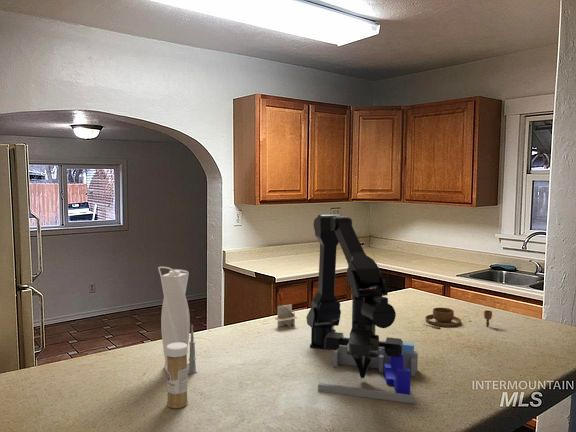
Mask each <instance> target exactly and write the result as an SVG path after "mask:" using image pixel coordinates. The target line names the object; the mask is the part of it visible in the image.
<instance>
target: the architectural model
mask: <svg viewBox="0 0 576 432" xmlns="http://www.w3.org/2000/svg"><path fill="white" fill-rule="evenodd" d="M292 309H293V304H292V303H291V304H290V303H289V304H285V305H278V306H277V317H274V320H276V321H277V327H278V328H279V327H284V326H285V327H286V326H288V327H291V325H292V326H295V325H296V319H297V317H296V312H295V311H294V312H293V310H292Z"/></svg>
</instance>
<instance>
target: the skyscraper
mask: <svg viewBox="0 0 576 432" xmlns="http://www.w3.org/2000/svg"><path fill="white" fill-rule="evenodd" d="M157 269H158V273H159V275H160V281H161V288H162V292H163V300H162V306H161V319H160V322H161V323H160V324H161V325H160V326H161V327H160V329H161V338H162V339H161V341H162V349H163V355H164V365H163V369H164V371H165V373H166V374H167V371H168V370H167V355H166V347H167V345H169V344H171V343H177V342H181V343H185V344H187V348H189V358H188V362H187V376H188V375H193V374H197V373H198V371H197V367H196V366H197V365H196V360H197V357H196V347H195V346H196V341H195V337H194V332H195V331H193V330H194V329H193V328H194V325H193V324H191V322H190V320H191V319H190V318H191V317H190V309H189V305H188V300H187V296H186V293H187V287H188V281H189V280H188V279H189V275H190V274H189V270H185V269H179V268H171V267H169V266H158V268H157ZM161 269H168V270H169V272H168V273H164V274H162V271H161ZM190 328H191V329H190ZM189 340H190V341H189Z"/></svg>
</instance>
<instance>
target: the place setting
mask: <svg viewBox="0 0 576 432" xmlns="http://www.w3.org/2000/svg"><path fill="white" fill-rule="evenodd" d="M454 312H455V311H454V310H453V309H451V308H449V307H435V308H433V309H432V314H428V315H426V316H425V318H424V319H425V322H426V323H428V324H425V323H424V324H422V325H424V326H427V327H431V328H433V329H437V330H438V329H441V328H454V327H459V326H460V325H461V323H462V319H461V318H459V317H458V316H455V313H454ZM483 317H484V319H485V320H486V323H485V325H486V326H485V327H486V328H490V320H492V317H493V311H491V310H487V309H486V310H484V312H483ZM431 319H434V320H435V321H432V320H431ZM452 321H455V322H454V323H450V322H452ZM468 322H471V320H468Z"/></svg>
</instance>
